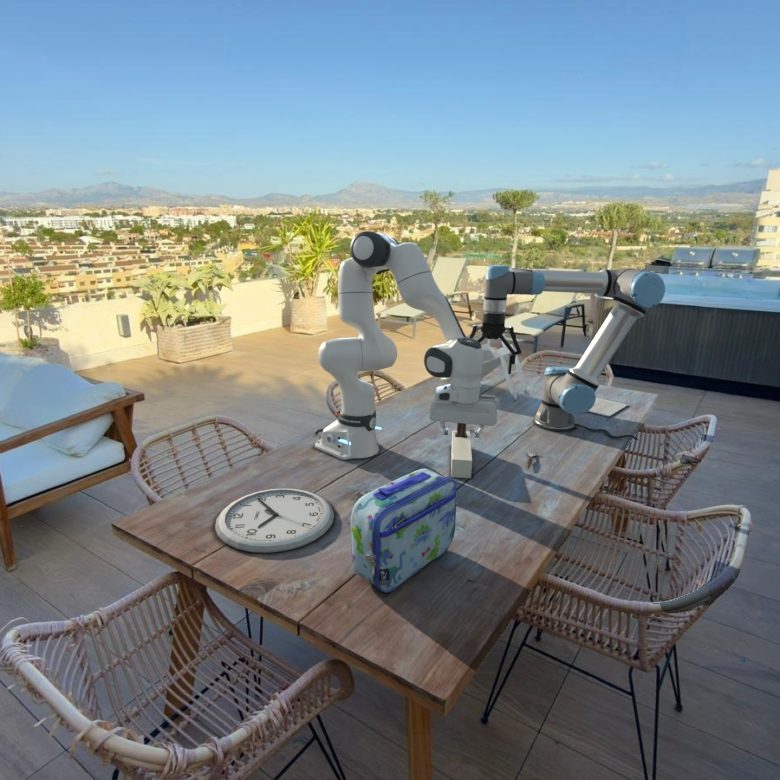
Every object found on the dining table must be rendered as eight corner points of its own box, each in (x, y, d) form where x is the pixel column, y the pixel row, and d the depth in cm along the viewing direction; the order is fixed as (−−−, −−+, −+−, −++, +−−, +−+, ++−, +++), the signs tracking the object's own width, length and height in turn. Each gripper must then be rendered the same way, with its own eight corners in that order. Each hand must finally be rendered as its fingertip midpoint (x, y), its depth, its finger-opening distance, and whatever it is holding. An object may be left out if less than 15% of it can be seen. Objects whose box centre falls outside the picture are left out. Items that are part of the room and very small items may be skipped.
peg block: (468, 447, 182) (469, 431, 180) (471, 478, 160) (472, 460, 158) (451, 446, 183) (452, 430, 181) (451, 477, 160) (452, 459, 158)
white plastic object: (461, 429, 252) (437, 405, 227) (444, 352, 274) (420, 323, 250) (535, 404, 240) (518, 377, 215) (510, 326, 262) (492, 293, 237)
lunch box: (379, 605, 105) (380, 513, 99) (344, 580, 112) (343, 493, 106) (459, 552, 123) (464, 471, 116) (425, 533, 130) (428, 456, 124)
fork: (523, 469, 166) (524, 463, 165) (529, 450, 180) (529, 445, 179) (532, 470, 165) (532, 464, 164) (536, 451, 179) (537, 446, 179)
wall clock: (332, 544, 122) (200, 548, 120) (332, 550, 123) (201, 555, 120) (334, 484, 151) (228, 486, 148) (334, 489, 151) (228, 491, 149)
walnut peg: (464, 449, 180) (466, 411, 176) (464, 453, 177) (467, 414, 173) (455, 449, 180) (457, 411, 176) (455, 452, 178) (458, 414, 173)
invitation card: (608, 416, 214) (573, 407, 224) (608, 416, 214) (573, 408, 224) (628, 404, 229) (594, 396, 238) (628, 405, 229) (594, 397, 238)
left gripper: (499, 392, 156) (495, 434, 161) (431, 387, 159) (428, 428, 163) (501, 399, 150) (496, 442, 155) (430, 394, 153) (427, 437, 157)
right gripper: (530, 311, 180) (524, 371, 186) (457, 308, 182) (454, 367, 189) (533, 314, 173) (527, 376, 179) (457, 312, 175) (454, 373, 182)
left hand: (461, 435), depth 159 cm, fingers open, 8 cm apart
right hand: (489, 372), depth 184 cm, fingers open, 13 cm apart
